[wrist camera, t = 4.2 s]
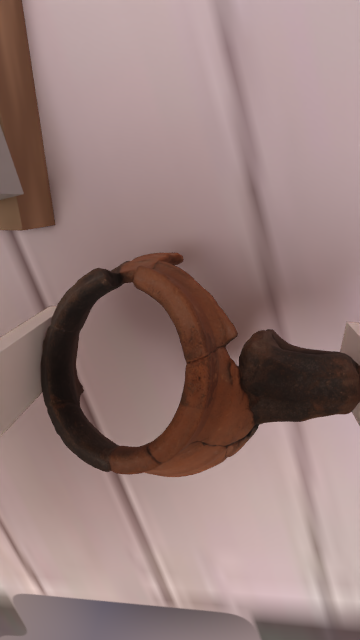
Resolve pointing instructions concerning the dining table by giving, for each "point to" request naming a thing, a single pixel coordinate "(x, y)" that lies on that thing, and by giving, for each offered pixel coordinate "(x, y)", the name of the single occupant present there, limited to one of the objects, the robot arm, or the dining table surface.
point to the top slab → (7, 172)
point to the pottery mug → (192, 376)
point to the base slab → (21, 126)
